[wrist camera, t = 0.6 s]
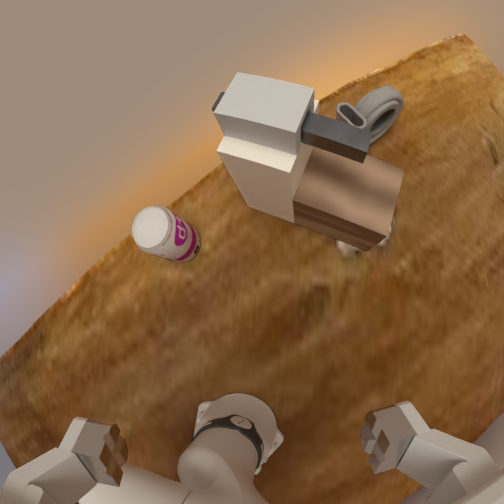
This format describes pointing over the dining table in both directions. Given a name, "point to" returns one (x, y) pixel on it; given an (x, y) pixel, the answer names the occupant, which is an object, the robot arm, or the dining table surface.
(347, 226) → the step
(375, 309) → the dining table surface
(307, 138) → the metal bar
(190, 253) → the supplement can
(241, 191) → the stand
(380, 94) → the turbocharger housing
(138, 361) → the dining table surface
